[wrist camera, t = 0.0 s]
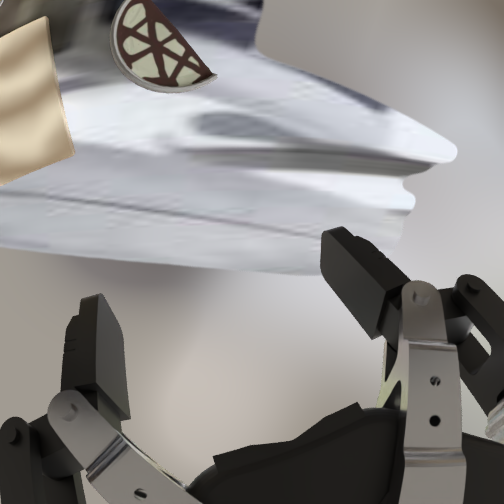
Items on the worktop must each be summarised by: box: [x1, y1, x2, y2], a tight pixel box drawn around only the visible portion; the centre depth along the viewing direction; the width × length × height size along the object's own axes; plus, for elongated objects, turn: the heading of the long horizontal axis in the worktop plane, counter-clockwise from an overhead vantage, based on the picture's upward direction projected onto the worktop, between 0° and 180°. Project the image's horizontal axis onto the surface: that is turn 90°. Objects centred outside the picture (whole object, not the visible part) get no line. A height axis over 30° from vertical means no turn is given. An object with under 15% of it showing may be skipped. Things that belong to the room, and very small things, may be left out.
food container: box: [110, 0, 218, 93], centre depth 24 cm, size 12×6×10 cm, turn 34°
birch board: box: [0, 16, 75, 186], centre depth 24 cm, size 18×16×2 cm
